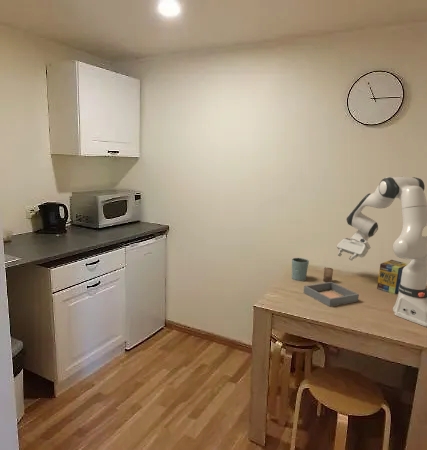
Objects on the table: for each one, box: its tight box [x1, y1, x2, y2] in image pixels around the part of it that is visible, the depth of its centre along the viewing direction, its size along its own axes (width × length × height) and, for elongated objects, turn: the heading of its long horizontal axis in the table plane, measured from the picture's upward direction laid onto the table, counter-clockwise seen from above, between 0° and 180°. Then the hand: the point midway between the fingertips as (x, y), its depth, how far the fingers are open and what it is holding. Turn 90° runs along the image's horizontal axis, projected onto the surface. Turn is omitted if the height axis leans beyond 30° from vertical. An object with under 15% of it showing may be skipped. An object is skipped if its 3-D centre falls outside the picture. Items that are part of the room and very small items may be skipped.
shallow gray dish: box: [303, 282, 360, 307], centre depth 198 cm, size 20×20×4 cm
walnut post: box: [322, 267, 334, 283], centre depth 222 cm, size 5×5×8 cm
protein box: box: [376, 259, 409, 295], centre depth 214 cm, size 10×15×16 cm
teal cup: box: [291, 257, 310, 282], centre depth 225 cm, size 10×10×12 cm
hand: (344, 257), depth 226 cm, fingers open, 8 cm apart
